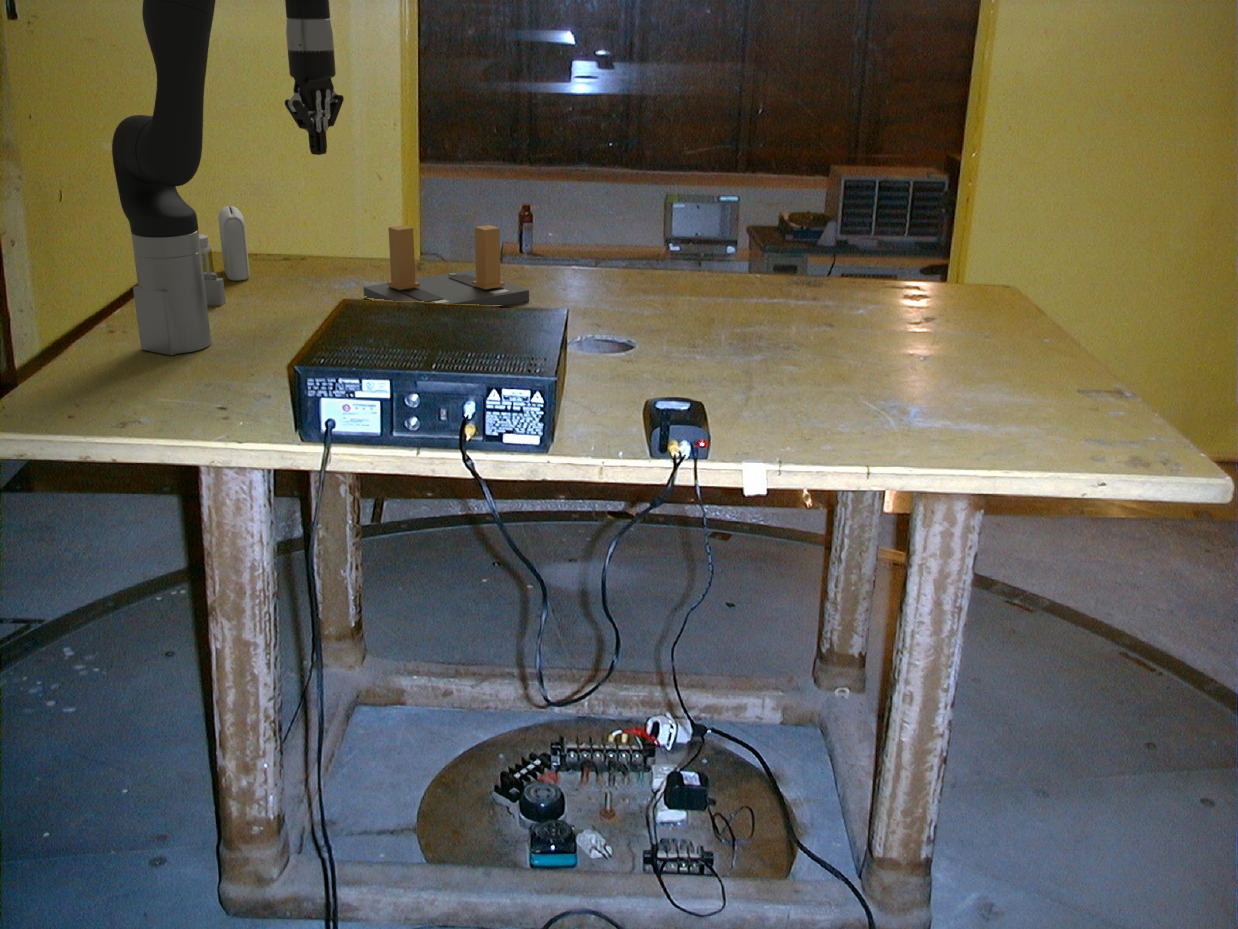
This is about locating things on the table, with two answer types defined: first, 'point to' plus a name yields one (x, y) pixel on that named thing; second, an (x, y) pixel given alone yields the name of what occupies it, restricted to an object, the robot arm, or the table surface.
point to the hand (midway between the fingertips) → (318, 153)
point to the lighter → (214, 289)
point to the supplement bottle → (206, 254)
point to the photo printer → (233, 243)
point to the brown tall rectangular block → (487, 257)
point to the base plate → (451, 291)
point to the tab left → (402, 258)
